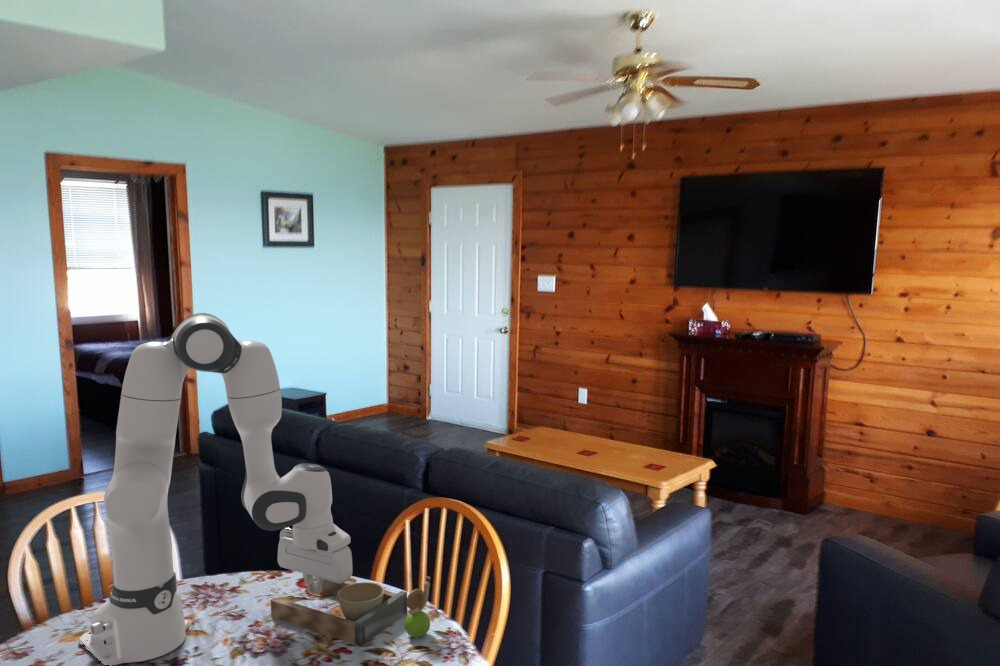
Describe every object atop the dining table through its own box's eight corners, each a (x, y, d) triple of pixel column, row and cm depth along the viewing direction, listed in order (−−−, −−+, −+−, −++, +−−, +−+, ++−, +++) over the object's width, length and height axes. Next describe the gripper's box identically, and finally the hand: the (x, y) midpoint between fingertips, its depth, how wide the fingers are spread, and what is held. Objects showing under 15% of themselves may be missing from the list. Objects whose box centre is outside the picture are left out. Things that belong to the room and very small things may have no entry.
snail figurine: (439, 633, 151) (437, 579, 150) (416, 645, 146) (415, 590, 145) (421, 625, 155) (420, 572, 154) (399, 636, 150) (398, 582, 149)
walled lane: (271, 617, 159) (270, 595, 159) (321, 588, 173) (321, 569, 172) (360, 646, 146) (360, 623, 146) (407, 613, 160) (406, 592, 160)
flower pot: (373, 636, 150) (372, 604, 150) (330, 631, 152) (329, 599, 152) (391, 614, 160) (390, 583, 159) (350, 609, 162) (350, 579, 161)
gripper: (270, 530, 164) (271, 587, 165) (336, 547, 154) (338, 608, 155) (290, 521, 169) (292, 577, 170) (356, 537, 159) (357, 596, 160)
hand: (314, 592), depth 163 cm, fingers closed
